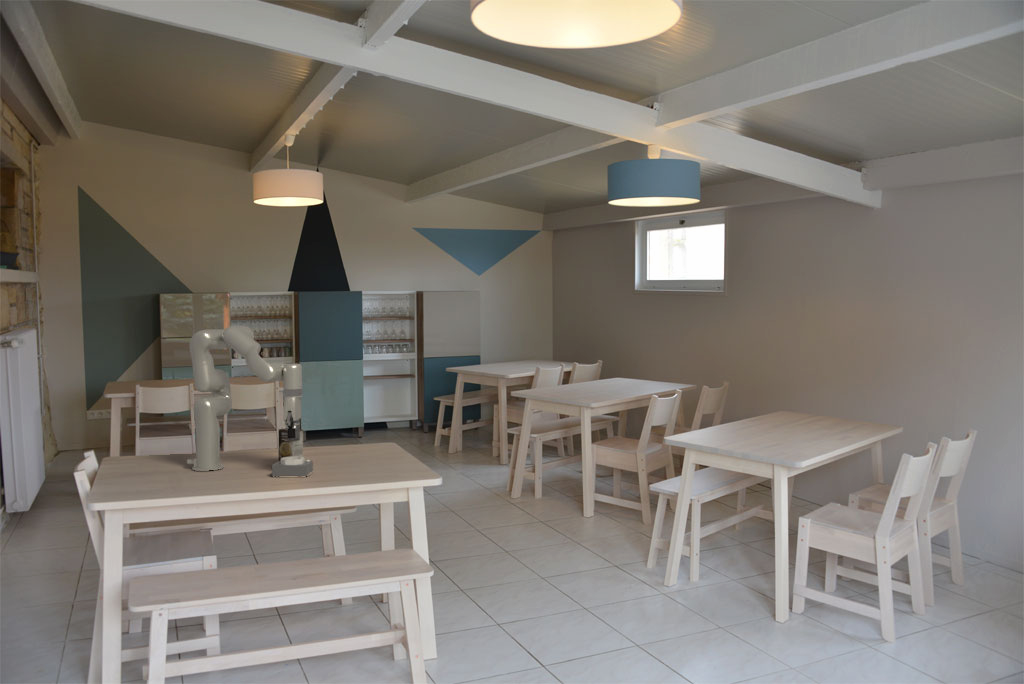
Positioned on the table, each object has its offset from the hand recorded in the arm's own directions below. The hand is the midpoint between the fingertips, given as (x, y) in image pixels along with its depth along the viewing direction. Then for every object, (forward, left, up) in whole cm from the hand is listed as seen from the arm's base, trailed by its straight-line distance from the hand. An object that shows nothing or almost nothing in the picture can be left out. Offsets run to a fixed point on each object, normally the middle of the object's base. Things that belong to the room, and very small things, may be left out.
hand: (293, 436), depth 314 cm
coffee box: (-7, +21, -16) cm, 28 cm away
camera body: (0, 0, -16) cm, 16 cm away
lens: (0, 0, -1) cm, 1 cm away
